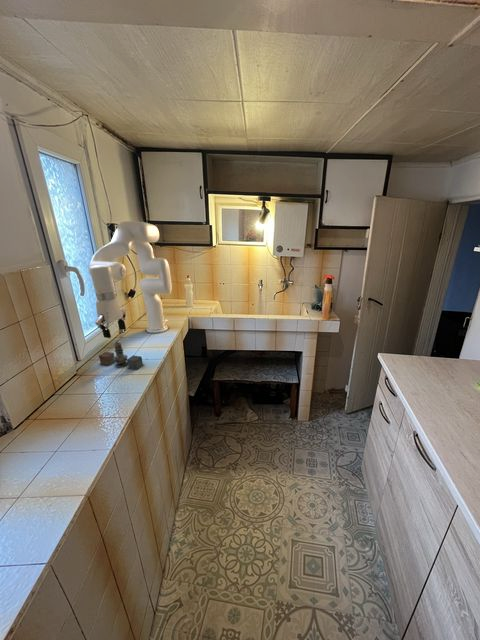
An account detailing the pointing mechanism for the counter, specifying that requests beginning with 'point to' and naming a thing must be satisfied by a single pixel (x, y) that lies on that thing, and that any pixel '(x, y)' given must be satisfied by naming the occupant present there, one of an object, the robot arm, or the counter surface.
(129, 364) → the slate block
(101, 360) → the walnut block
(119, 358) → the stone chess piece
